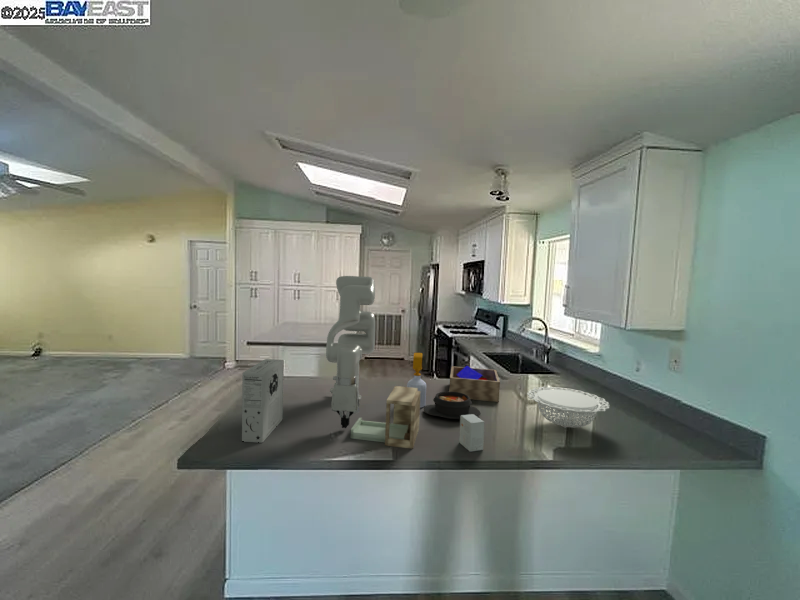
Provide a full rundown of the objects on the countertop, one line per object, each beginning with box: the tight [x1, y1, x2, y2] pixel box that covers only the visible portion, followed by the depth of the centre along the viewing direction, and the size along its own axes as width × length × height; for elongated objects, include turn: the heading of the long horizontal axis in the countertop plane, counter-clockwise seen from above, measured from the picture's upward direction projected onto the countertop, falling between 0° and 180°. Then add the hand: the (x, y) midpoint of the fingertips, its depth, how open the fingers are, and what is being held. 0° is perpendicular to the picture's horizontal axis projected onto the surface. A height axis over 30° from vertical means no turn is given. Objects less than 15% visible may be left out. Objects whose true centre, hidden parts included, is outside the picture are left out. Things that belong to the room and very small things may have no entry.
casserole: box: [423, 391, 481, 420], centre depth 173 cm, size 25×19×8 cm
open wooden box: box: [449, 365, 501, 403], centre depth 207 cm, size 24×24×10 cm
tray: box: [350, 417, 408, 443], centre depth 149 cm, size 20×12×4 cm, turn 80°
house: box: [457, 365, 487, 380], centre depth 207 cm, size 12×20×12 cm, turn 13°
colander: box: [526, 386, 611, 428], centre depth 163 cm, size 32×32×13 cm
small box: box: [458, 414, 485, 452], centre depth 142 cm, size 8×6×10 cm
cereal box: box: [241, 358, 284, 444], centre depth 148 cm, size 22×8×25 cm, turn 178°
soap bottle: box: [406, 352, 427, 409], centre depth 183 cm, size 9×9×25 cm
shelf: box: [384, 385, 421, 449], centre depth 148 cm, size 10×17×17 cm, turn 171°
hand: (345, 426), depth 152 cm, fingers closed
